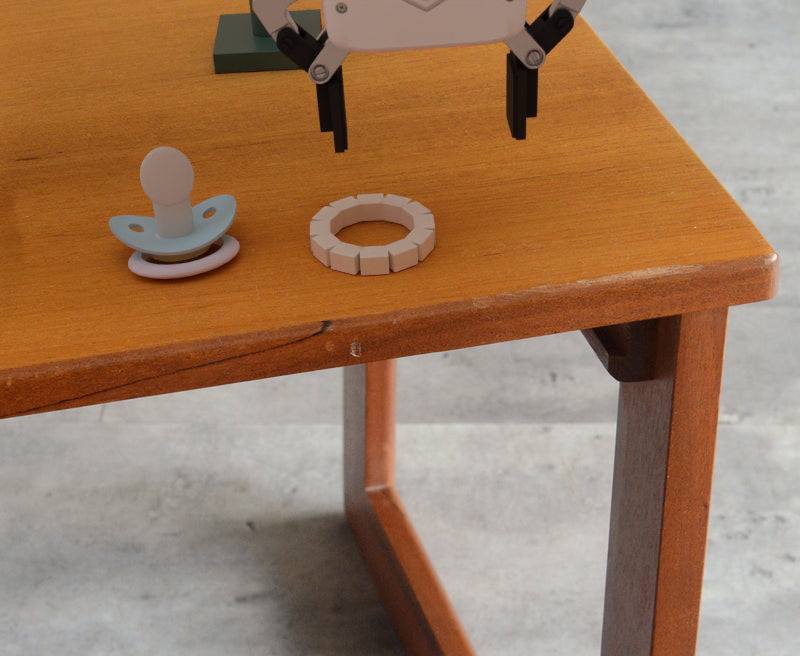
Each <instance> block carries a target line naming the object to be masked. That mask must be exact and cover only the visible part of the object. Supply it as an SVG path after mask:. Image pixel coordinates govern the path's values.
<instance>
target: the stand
mask: <svg viewBox="0 0 800 656" xmlns="http://www.w3.org/2000/svg"><path fill="white" fill-rule="evenodd" d="M248 3H249V12H245V13H244V12H243V13H227V14H225V13H224V14H219V18H218V23H217V29H216V34H215V39H214V45H213V51H212V60H213V68H214V73H215V74H226V73H227V74H228V73H243V72H244V73H245V72H247V73H248V72H262V71H263V72H264V71H281V70H298V69H299V70H300V69H302V68H301V67H299V66H298V65H297V64H296V63H294V62H293V61H292V60H291V59H289V58H288V57H287V56H286V55H284V54H283V53H282V52H281V51H280V50H279V49H278V47H277V45H276V42H275V41H274V39H273V38H272V36H271V35H270V34H269V33H268V31H267V30H266V28H265V27H264V26H263V24H262V23H261V21H260V20H259V18H258V17H257V15H256V14H255V12H254V11H253V8H252V0H248ZM287 11H288V12H289V14H290V16H291V18H292V19H293V21H294V22H296V23H297V24H298V25H299V26H301V27H302V28H303V29H304V30H306V31H307V32H308V33H309V34H310V35H312V36H313V37H314V38H315V39H316V38H317V37H318V35H319V34H320V33H321V31H322V30H323V24H322V23H323V22H322V11H321V8H317V9H300V10H299V9H298V10H287Z"/></svg>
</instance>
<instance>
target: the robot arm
mask: <svg viewBox="0 0 800 656" xmlns="http://www.w3.org/2000/svg"><path fill="white" fill-rule="evenodd" d="M298 1H299V0H252V8H253V11H254V12H255V14H256V15H257V17H258V18H259V20H260V21H261V23H262V24H263V26H264V27H265V28H266V30H267V31H268V33H269V34H270V35H271V36H272V38H273V39H274V41H275V42H276V45H277V47H278V49H279V50H280V51H281V52H282V53H283V54H284V55H286V56H287V57H288V58H289V59H291V60H292V61H293V62H294V63H296V64H297V65H298V66H299V67H301V69H302V70H303V71H304V72H306V74H308V78H309V79H310V81H311V82H313V83H314V84H315V90H316V91H315V92H316V101H317V111H318V121H319V130H320V133H321V134H322V133H332V134H333V135H332V137H333V146H334V153H335V154H343V153H345V152H346V151H348V150H349V138H348V121H347V119H348V118H347V109H346V98H345V97H346V96H345V89H344V88H345V84H344V75H343V63H344V61H345V59H346V58H347V57H348V55H349V54H350V53H355V54H374V53H376V54H377V53H393V52H395V53H396V52H407V51H409V52H410V51H421V50H436V49H437V50H438V49H452V48H463V47H476V46H487V45H494V44H499V43H502V42H503V43H504V44H505V46H506V47H507V48H508V49H509V52H507V53H506V55H505V57H506V58H505V59H506V63H505V64H506V66H505V67H506V69H505V71H506V72H505V74H506V75H505V76H506V77H505V79H506V80H505V116H506V121H507V125H508V129H509V131H510V135H511V138H512V139H515V141H525V140H526V139H527V119H531V118H532V119H533V118H537V117H538V105H539V104H538V100H539V99H538V98H539V68H542V67H543V65H544V64H545V62H546V60H547V59H546V58H547V56H548V54H550V53H551V52H552V50H553V49H555V47H556V46H558V45H559V44H560V42H561V41H563V39H564V38H565V37H566V36H567V35H568V34H569V33H570V32H571V31H572V30H573V29H574V26H575V20H576V18H577V17H578V15H579V14H580V13H581V11H582V9H583V8H584V5H585V4H586V2H587V0H553V1H552V2H551V3H550V4H549V5H548V6H547V7H546V8H545V9H544V10H543V11H542V12H541V13H540V14H539V15H538V17H536V19H534V20H533V21H532V22H531V23H530V21H528V20H527V14H528V13H527V12H528V0H321V5H322V14H323V19H324V25H325V26H324V27H323V28H322V31H321V33H320V34H319V35H318V37H317V38H316V39H315V38H314V37H313V36H312V35H310V34H309V33H308V32H307V31H306V30H304V29H303V28H302V27H301V26H299V25H298V24H297V23H296V22H294V21H293V19H292V18H291V16H290V14H289V12H288V11H289V10H288V8H289V7H290V6H291V5H293V4H294V3H296V2H298Z"/></svg>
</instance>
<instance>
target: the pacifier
mask: <svg viewBox="0 0 800 656" xmlns="http://www.w3.org/2000/svg"><path fill="white" fill-rule="evenodd" d="M139 181H140V185H141V188H142V190H143V192H144V193H145V195H146V196H147V197H148V198H149V199H150V200H151V203H152V209H153V213H154V217H153V216H146V215H134V214H121V215H116V216H112V217H110V218H109V220H108V227H109V229H110V232H111V233H112V234H113V236H114V237H115V238H117V239H118V240H119V242H121V243H122V244H124V245H126V246H127V247H129V248H131V249H133V250H135V251H134V252H133V253H132V254H131V256H130V257H129V258H128V261H127V267H128V268H129V270H130V271H131V272H132V273H133V274H135V275H137V276H139V277H143V278H149V279H160V280H161V279H162V280H167V279H168V280H169V279H181V278H186V277H192V276H197V275H199V274H204V273H207V272H210V271H212V270H215V269H217V268H220V267H221V266H223V265H225V264H227V263H228V262H230V261H231V260H232V259H234V258H235V257H236V256H237V254H238V253H239V252H240V249H241V245H240V242H239V241H238V240H237V238H236V237H234V236H232V235H229V234H227V232H228V230H229V229H230V228H231V227H232V225H233V223H234V221H235V219H236V216H237V211H238V206H237V201H236V198H235V197H234V196H233V195H231V194H227V193H224V194H219V195H215V196H212V197H209V198H207V199H205V200H203V201H201V202H199V203H196V204H195V205H194V206H192V202H191V201H192V200H191V196H190V195H191V193H192V191H193V189H194V184H195V171H194V167H193V165H192V163H191V161H190V159H189V158H188V157H187V156H186V155H185V154H184V153H183V152H182V151H180V150H179V149H177V148H174V147H171V146H159V147H156V148H154V149H152V150H151V151H149V152H148V153H147V154H146V155H145V156H144V158H143V160H142V162H141V165H140V168H139ZM213 212H214V213H213ZM210 213H213V214H212V216H210V217H207V218H205V217H206V216H207V215H208V214H210ZM133 229H138V230H141V232H140V231H136V230H133ZM212 244H213V245H217V246H219V247H220V248H219V249H218V250H217V251H215V252H213V253H211V254H209V255H207V256H205V257H202V258H200V259H196V260H193V261H192V260H191V259H193V258H197V257H199V256H201V255H203V254H204V253H206V252H207V251H209V249H210V248H211V247H212ZM150 257H151V258H152V259H154V260H157V261H160V262H167V263H174V262H181V261H187V260H191V261H189V262H183V263H174V264H160V263H159V264H157V263H153V262H148V261H147V259H149V258H150Z"/></svg>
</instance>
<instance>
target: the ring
mask: <svg viewBox="0 0 800 656" xmlns="http://www.w3.org/2000/svg"><path fill="white" fill-rule="evenodd" d="M373 221H385V222H389V223H393V224H398V225H402V226H403V227H405V228H406V229H407V230H409V231H410V232H409V233H408V234H407V235H406V236H405V237H404V238H401V239H399V240H396V241H394V242H391V243H388V244H386V245H369V246H368V245H367V246H361V245H357V244H352V243H348V242H344V241H342V240H340V238H338V237H337V236H336V235H337V234H338V233H339V232H340V231H341V230H343V228H346V227H349V226H351V225H354V224H357V223H360V222H373ZM436 243H437V242H436V224H435V216H434V214H433V213H432V211H431V209H429V208H428V207H426V206H425V205H423V204H422V203H420V202H419V201H417V200H414V201H413V198H411V197H406V196H401V195H397V194H392V193H388V194H386V195H384V193H383V192H380V193H379V192H378V193H361V194H360V193H359V194H356V198H355V197H354V196H353V195H350V196H346V197H344V198H340V199H337V200H335V201H332V202H329V203H328V205H324V206H323V207H322V208H321V209H319V210H318V212H316V213H315V215H313V216H312V218H311V220H310V221H309V244H310V251H311V252H312V256H313V257H315V258H316V260H318V261H319V262H320V263H321V264H323V265H324V266H325V267H326V268H327V267H330V269H331V270H333V271H337V272H342V273H345V274H350V275H353V276H356V275H357V274H358V273H359V272H360V276H377V275H378V276H379V275H389V274H390V270H391V271H392V272H393V273H398V272H400V271H403V270H405V269H408V268H411V267H413V266H414V267H415V266H416V265H418V264H419V262H423V261H424V260H425V259H426V258H427V257H428V255H429V254H430V253H432V251H433V250H434V249H435V246H436Z"/></svg>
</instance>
